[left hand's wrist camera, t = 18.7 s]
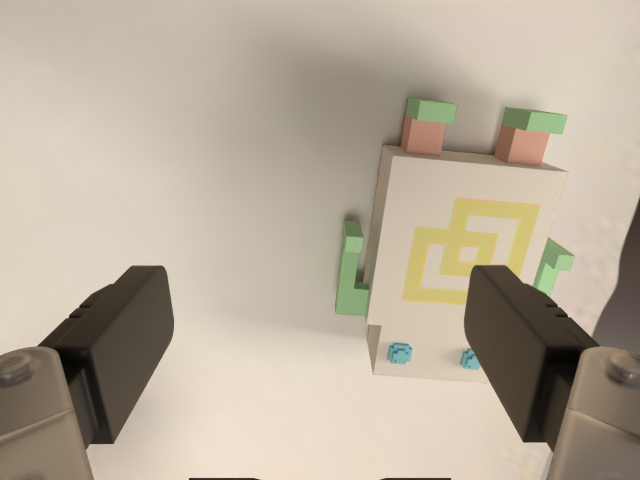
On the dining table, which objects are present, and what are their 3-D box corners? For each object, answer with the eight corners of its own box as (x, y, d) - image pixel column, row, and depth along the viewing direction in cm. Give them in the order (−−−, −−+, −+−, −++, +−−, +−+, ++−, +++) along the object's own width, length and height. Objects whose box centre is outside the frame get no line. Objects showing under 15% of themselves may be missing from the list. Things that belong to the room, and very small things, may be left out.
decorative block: (532, 391, 41) (330, 376, 40) (505, 351, 47) (328, 337, 46) (628, 121, 31) (365, 95, 31) (579, 114, 37) (357, 92, 37)
